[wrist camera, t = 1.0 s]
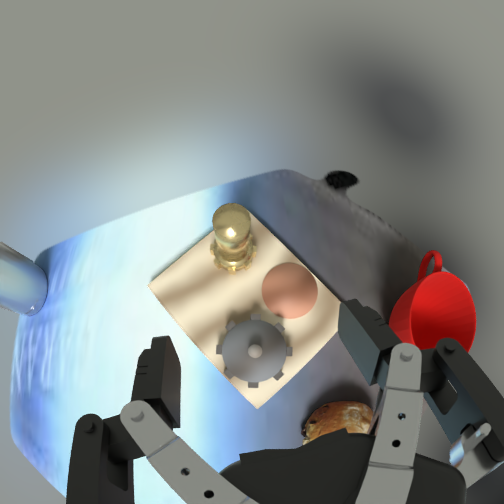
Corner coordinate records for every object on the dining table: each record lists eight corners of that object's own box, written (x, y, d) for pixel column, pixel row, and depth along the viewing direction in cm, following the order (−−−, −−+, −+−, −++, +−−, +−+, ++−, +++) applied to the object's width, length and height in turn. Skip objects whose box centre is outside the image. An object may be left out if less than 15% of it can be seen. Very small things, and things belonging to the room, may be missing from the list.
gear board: (150, 288, 37) (138, 278, 32) (243, 211, 42) (244, 193, 37) (256, 406, 32) (259, 415, 27) (348, 315, 37) (362, 309, 32)
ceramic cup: (435, 271, 40) (471, 251, 30) (433, 369, 34) (474, 367, 24) (374, 260, 40) (407, 235, 31) (368, 370, 34) (405, 373, 25)
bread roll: (334, 454, 32) (371, 471, 25) (284, 453, 29) (321, 478, 22) (356, 399, 36) (396, 409, 29) (310, 390, 32) (354, 404, 25)
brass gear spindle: (202, 251, 38) (190, 218, 28) (235, 224, 39) (234, 185, 30) (231, 283, 36) (229, 259, 27) (264, 254, 38) (273, 221, 28)
